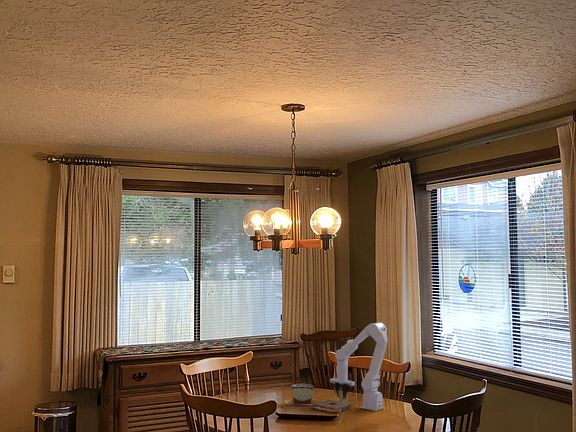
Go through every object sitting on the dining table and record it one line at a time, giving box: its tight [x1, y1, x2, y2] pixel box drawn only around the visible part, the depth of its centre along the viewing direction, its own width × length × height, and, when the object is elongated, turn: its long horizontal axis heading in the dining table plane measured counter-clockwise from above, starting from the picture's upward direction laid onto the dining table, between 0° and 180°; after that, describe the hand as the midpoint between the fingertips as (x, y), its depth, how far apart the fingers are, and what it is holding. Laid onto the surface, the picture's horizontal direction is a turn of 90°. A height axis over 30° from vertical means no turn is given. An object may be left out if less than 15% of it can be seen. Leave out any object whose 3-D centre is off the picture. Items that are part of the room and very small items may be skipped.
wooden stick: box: [338, 388, 346, 403], centre depth 322 cm, size 2×2×8 cm
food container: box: [290, 383, 315, 405], centre depth 319 cm, size 12×6×10 cm, turn 84°
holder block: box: [312, 399, 352, 413], centre depth 309 cm, size 14×14×2 cm
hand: (341, 397), depth 322 cm, fingers open, 3 cm apart
